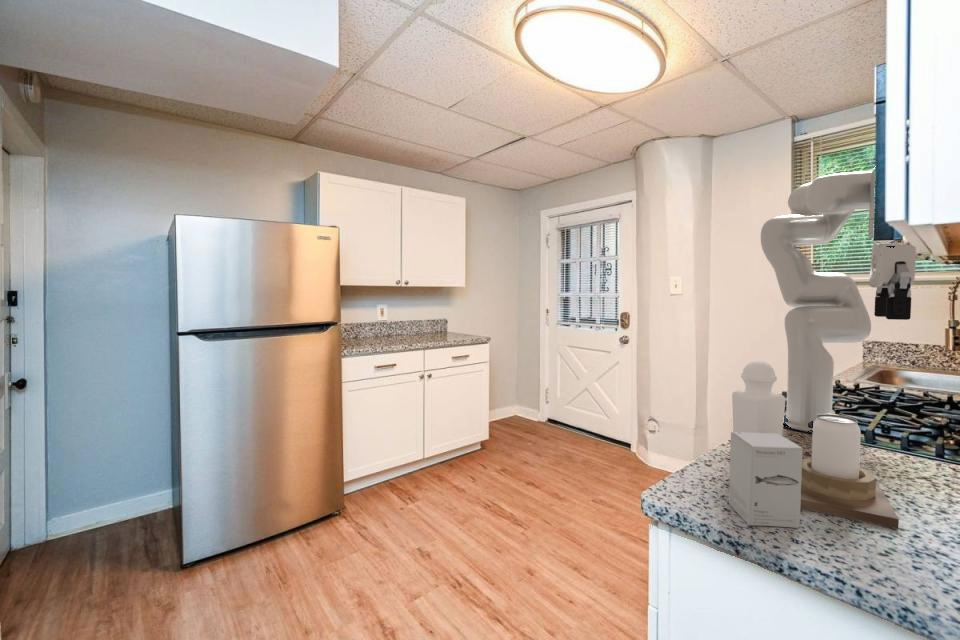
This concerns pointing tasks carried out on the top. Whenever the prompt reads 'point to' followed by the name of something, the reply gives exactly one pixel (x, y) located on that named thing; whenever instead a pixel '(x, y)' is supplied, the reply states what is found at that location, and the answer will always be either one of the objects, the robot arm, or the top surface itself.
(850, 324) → the robot arm
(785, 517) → the supplement box
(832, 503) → the mount board
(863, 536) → the top surface
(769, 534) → the top surface
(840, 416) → the can
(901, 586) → the top surface
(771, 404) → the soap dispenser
